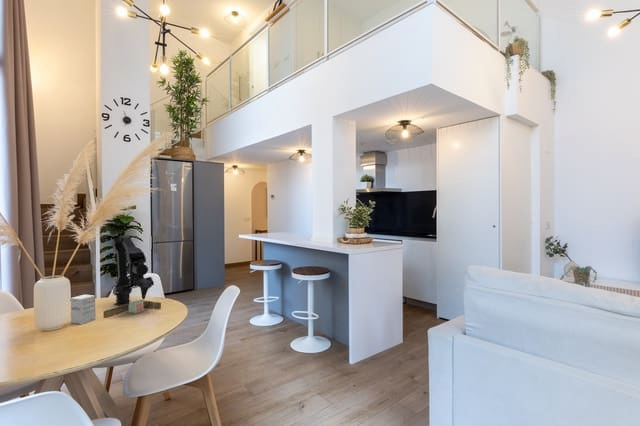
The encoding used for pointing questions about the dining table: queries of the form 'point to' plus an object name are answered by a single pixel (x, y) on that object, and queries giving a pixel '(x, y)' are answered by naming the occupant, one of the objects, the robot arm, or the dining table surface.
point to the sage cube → (136, 306)
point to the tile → (136, 312)
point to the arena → (126, 307)
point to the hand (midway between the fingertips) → (136, 301)
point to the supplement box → (82, 309)
